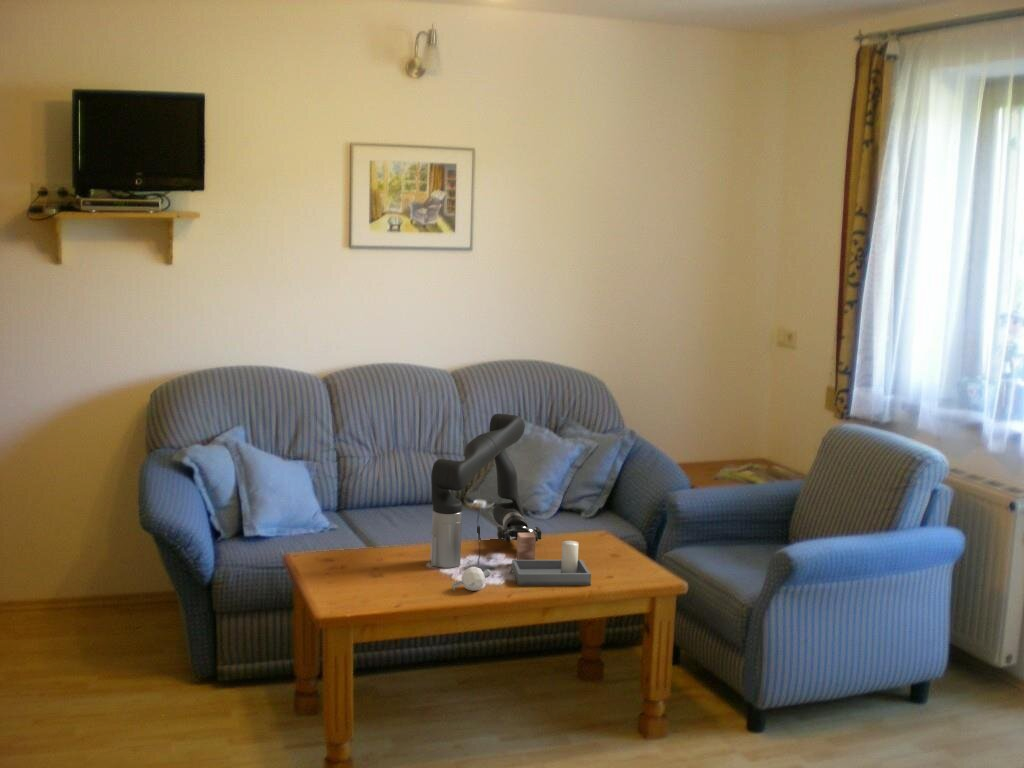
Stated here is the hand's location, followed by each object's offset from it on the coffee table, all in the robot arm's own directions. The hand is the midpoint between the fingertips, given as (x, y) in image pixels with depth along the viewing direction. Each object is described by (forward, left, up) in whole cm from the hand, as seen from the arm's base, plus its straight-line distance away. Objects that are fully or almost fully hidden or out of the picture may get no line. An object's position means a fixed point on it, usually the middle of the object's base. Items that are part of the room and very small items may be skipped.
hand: (522, 539), depth 354 cm
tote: (+6, -20, -6) cm, 22 cm away
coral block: (0, -8, -6) cm, 10 cm away
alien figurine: (-19, -30, -6) cm, 36 cm away
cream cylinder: (+12, -20, -5) cm, 24 cm away
